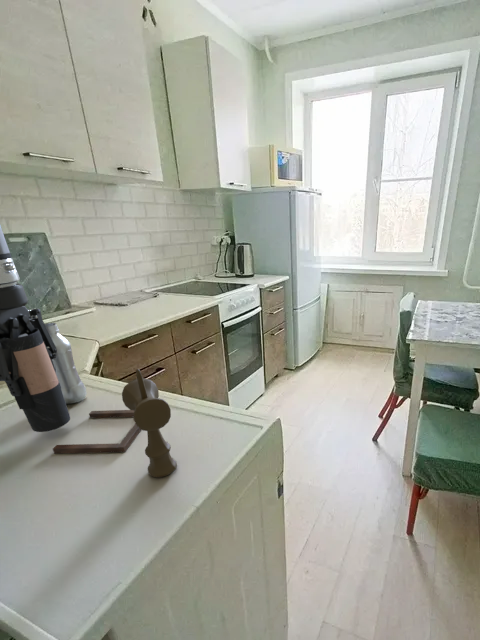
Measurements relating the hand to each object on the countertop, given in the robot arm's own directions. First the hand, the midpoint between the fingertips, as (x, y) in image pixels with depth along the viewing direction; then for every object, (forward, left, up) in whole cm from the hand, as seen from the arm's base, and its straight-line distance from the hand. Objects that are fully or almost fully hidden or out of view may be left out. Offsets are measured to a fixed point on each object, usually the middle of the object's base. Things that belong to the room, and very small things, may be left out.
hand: (41, 397), depth 73 cm
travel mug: (0, 0, -6) cm, 6 cm away
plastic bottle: (-5, +15, -9) cm, 18 cm away
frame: (+11, 0, -9) cm, 14 cm away
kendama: (+28, -13, -9) cm, 33 cm away
